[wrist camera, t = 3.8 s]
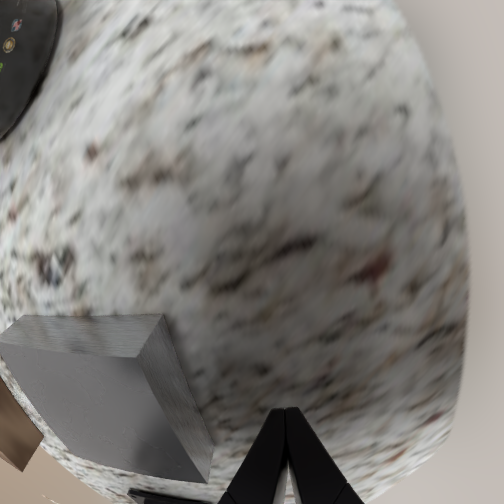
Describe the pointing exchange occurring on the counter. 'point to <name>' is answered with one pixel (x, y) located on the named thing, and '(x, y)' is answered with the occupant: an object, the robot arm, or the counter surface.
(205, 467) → the grey metal plate
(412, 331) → the counter surface
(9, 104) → the supplement bottle
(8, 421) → the curved brown bar
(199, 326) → the counter surface
